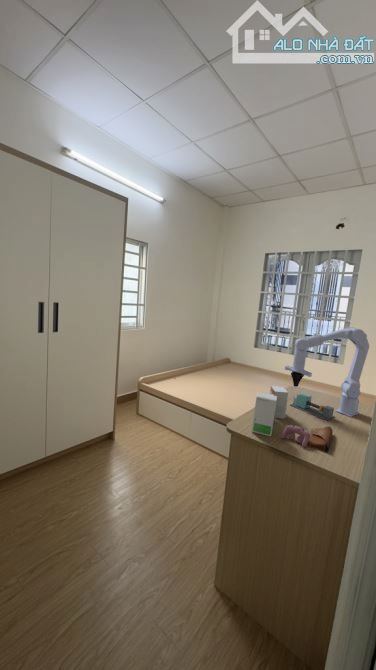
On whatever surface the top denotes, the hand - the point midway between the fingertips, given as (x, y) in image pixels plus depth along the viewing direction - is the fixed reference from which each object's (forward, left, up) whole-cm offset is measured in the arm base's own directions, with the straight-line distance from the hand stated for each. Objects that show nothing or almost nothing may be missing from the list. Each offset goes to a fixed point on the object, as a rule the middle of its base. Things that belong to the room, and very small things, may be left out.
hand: (295, 386), depth 148 cm
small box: (+19, +4, -11) cm, 23 cm away
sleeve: (-2, +5, -11) cm, 12 cm away
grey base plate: (-2, +10, -11) cm, 14 cm away
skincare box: (+39, +12, -11) cm, 43 cm away
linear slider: (-2, +10, -11) cm, 14 cm away
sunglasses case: (+24, +28, -11) cm, 38 cm away
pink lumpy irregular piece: (+34, +24, -11) cm, 43 cm away
